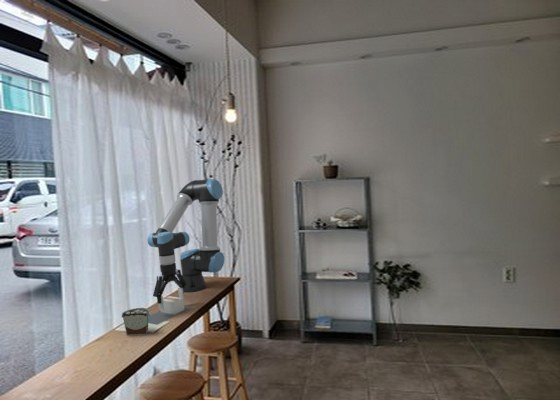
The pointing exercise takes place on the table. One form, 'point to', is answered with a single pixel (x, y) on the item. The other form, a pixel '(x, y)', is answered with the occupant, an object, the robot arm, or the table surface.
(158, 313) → the mat
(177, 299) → the white rectangular block
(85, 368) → the table surface
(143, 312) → the food container
